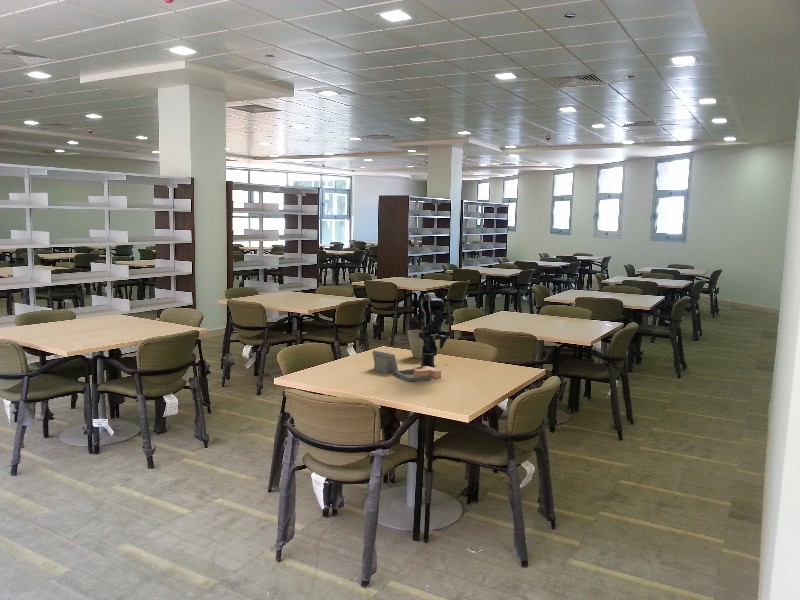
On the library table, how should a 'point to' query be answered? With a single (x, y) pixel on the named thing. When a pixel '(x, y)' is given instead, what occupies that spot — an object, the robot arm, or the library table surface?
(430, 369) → the t block
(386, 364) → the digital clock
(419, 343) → the plant pot
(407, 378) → the fence
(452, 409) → the library table surface
